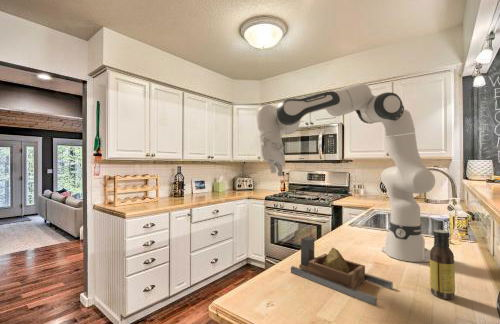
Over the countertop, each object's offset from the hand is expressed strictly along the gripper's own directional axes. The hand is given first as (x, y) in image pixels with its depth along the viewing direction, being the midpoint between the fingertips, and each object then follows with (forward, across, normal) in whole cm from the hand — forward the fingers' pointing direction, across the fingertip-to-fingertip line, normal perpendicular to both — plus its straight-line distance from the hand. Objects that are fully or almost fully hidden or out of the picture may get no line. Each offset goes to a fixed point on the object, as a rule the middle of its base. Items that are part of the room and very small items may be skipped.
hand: (277, 174), depth 104 cm
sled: (+39, +3, -11) cm, 41 cm away
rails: (+41, +2, -14) cm, 43 cm away
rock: (+41, +2, -13) cm, 43 cm away
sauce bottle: (+49, +4, -43) cm, 65 cm away
